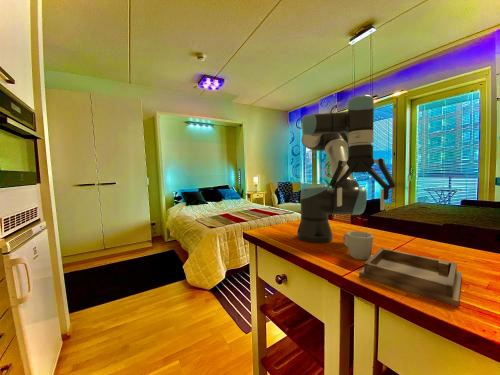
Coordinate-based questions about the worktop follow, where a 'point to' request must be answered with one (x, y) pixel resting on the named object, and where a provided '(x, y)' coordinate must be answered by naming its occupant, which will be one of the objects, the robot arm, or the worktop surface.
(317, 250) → the worktop surface
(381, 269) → the square wooden tray
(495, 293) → the worktop surface
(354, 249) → the cup
